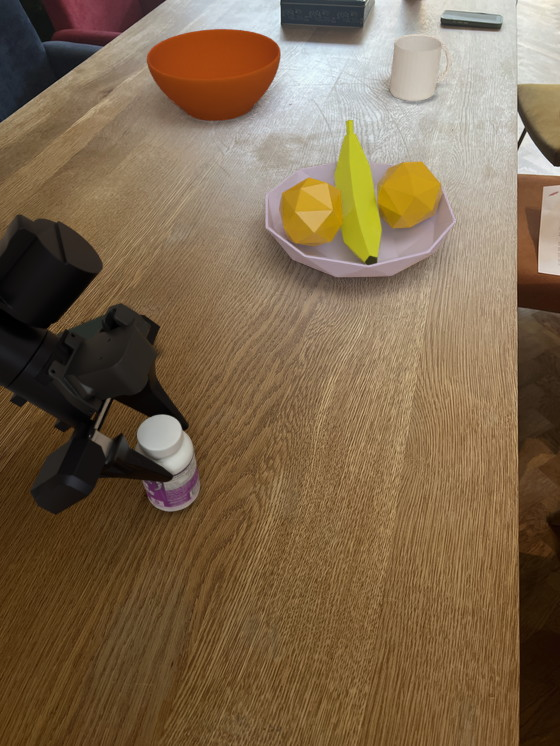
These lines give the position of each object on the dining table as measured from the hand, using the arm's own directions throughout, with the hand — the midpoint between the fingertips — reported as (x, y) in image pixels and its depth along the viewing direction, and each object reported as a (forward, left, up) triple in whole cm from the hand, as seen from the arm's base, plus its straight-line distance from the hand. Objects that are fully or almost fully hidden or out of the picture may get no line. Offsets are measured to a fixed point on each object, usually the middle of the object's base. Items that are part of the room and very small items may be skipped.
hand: (178, 453), depth 56 cm
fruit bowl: (+41, +25, -7) cm, 49 cm away
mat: (+1, +25, -7) cm, 26 cm away
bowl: (+47, +76, -7) cm, 90 cm away
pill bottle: (-1, +1, -7) cm, 7 cm away
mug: (+83, +57, -7) cm, 101 cm away
